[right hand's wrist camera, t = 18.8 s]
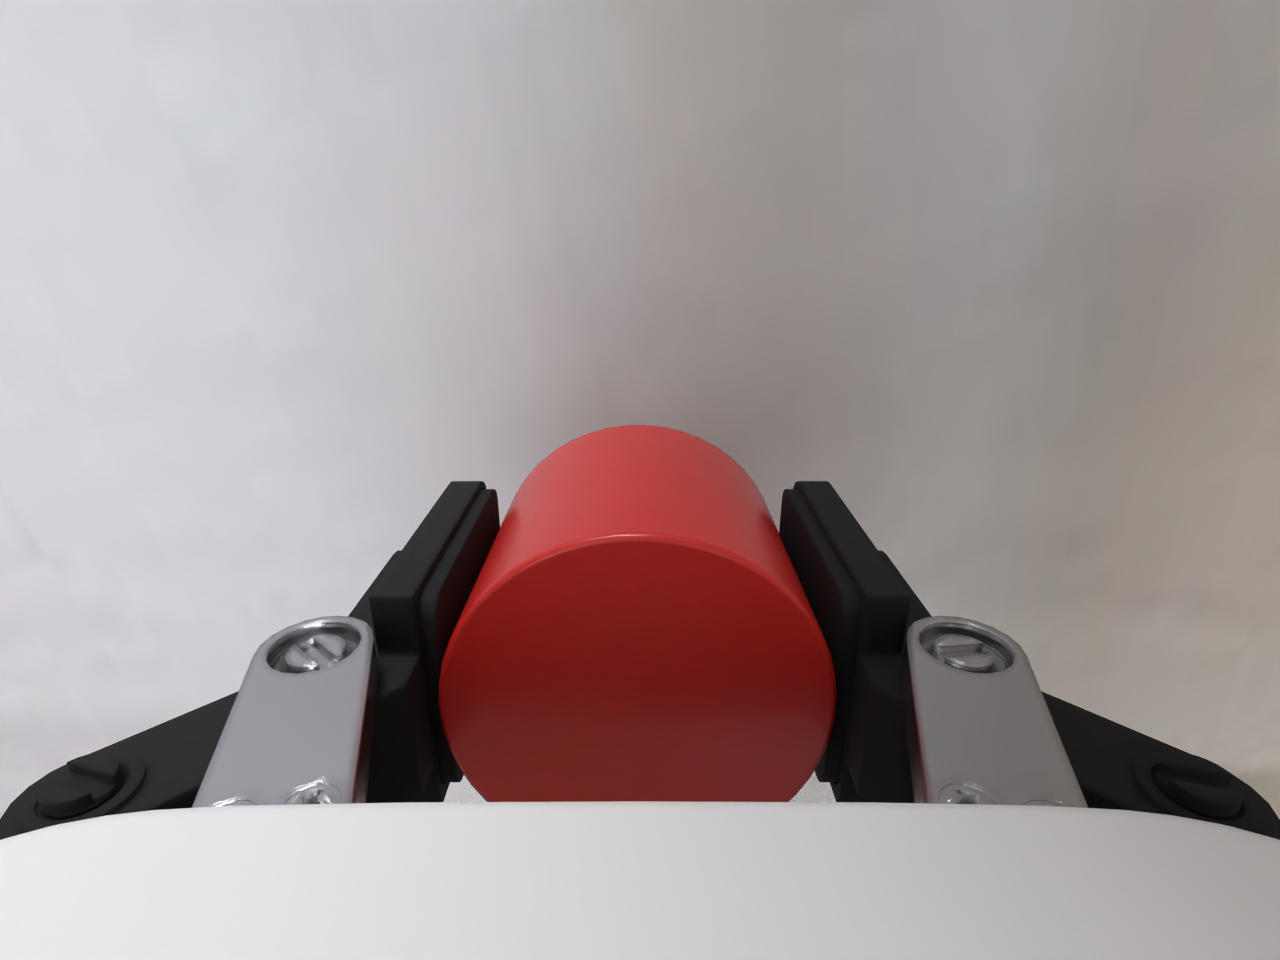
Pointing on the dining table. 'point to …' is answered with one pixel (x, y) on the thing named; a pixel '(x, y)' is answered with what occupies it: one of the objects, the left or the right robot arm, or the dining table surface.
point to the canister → (637, 636)
